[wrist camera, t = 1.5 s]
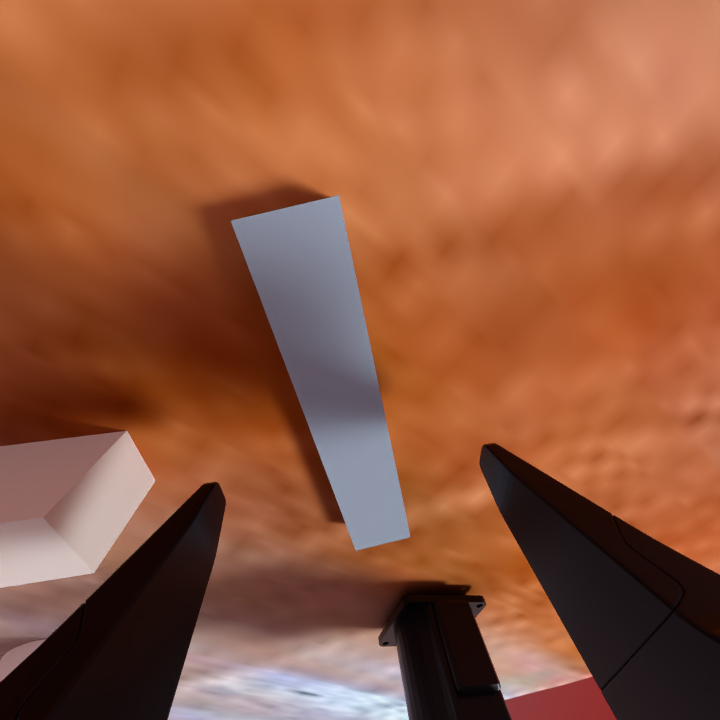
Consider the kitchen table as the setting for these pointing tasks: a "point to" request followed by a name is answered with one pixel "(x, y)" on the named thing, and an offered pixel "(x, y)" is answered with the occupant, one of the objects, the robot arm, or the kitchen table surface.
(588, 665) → the robot arm
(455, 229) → the kitchen table surface
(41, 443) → the fulcrum
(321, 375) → the bar
